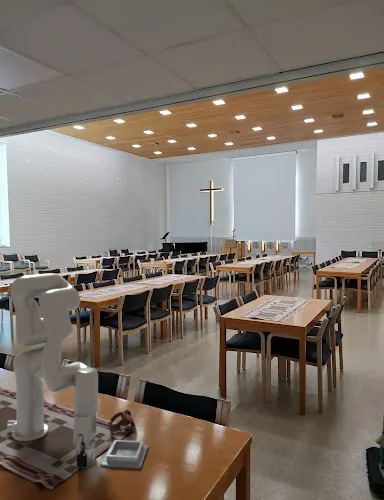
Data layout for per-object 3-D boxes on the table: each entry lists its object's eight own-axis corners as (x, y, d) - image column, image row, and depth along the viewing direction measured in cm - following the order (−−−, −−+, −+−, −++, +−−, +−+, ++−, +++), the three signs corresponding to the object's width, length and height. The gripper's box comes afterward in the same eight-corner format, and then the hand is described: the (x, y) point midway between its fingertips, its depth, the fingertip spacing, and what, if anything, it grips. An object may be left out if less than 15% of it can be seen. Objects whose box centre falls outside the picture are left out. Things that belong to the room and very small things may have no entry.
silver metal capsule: (73, 468, 129) (73, 446, 129) (80, 457, 135) (80, 437, 135) (91, 469, 129) (92, 447, 128) (97, 458, 135) (97, 438, 134)
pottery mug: (135, 439, 148) (124, 422, 146) (113, 447, 150) (102, 431, 148) (141, 416, 160) (131, 400, 158) (121, 424, 162) (110, 409, 160)
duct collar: (101, 466, 130) (101, 458, 130) (111, 445, 143) (111, 437, 143) (140, 468, 129) (140, 460, 129) (147, 447, 142) (147, 439, 142)
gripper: (83, 395, 140) (83, 445, 141) (64, 418, 122) (64, 475, 123) (104, 396, 139) (104, 446, 140) (88, 419, 122) (88, 476, 123)
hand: (85, 459), depth 132 cm, fingers open, 7 cm apart
